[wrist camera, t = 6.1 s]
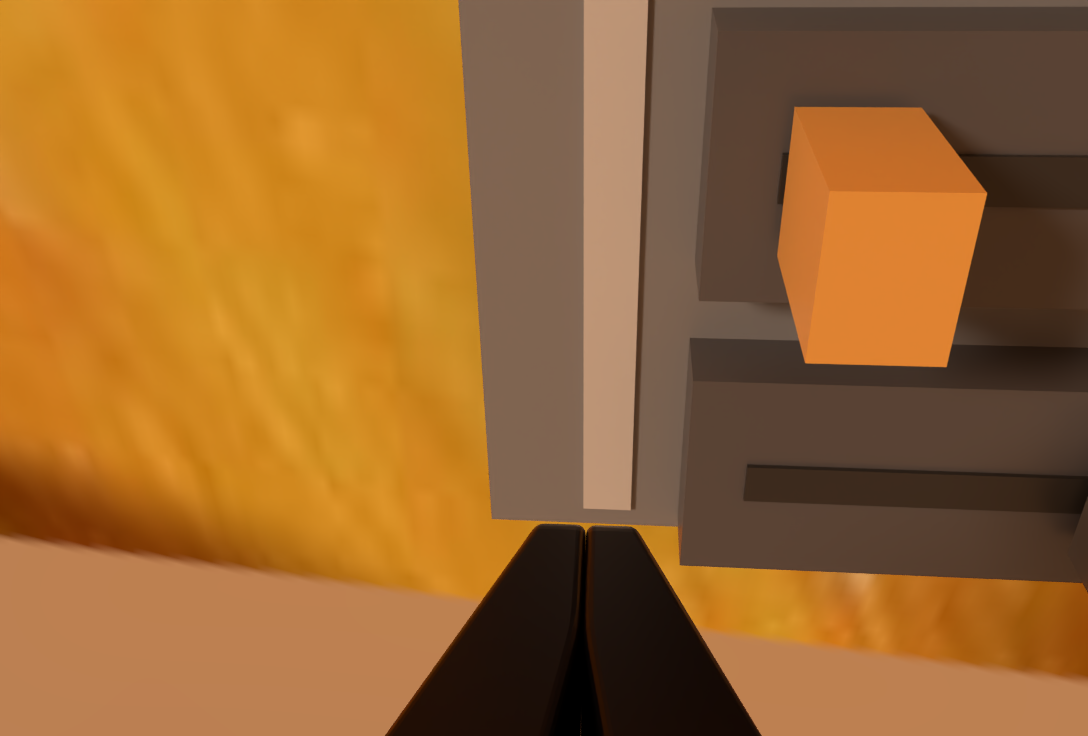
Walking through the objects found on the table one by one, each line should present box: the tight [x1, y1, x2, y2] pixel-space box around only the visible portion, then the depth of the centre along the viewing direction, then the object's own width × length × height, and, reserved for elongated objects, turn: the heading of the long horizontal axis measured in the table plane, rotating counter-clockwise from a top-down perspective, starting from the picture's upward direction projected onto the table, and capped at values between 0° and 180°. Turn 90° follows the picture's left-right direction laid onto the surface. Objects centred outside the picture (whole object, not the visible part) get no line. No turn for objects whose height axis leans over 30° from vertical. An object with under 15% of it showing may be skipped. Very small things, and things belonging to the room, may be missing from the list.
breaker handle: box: [777, 107, 987, 367], centre depth 14 cm, size 2×2×3 cm
